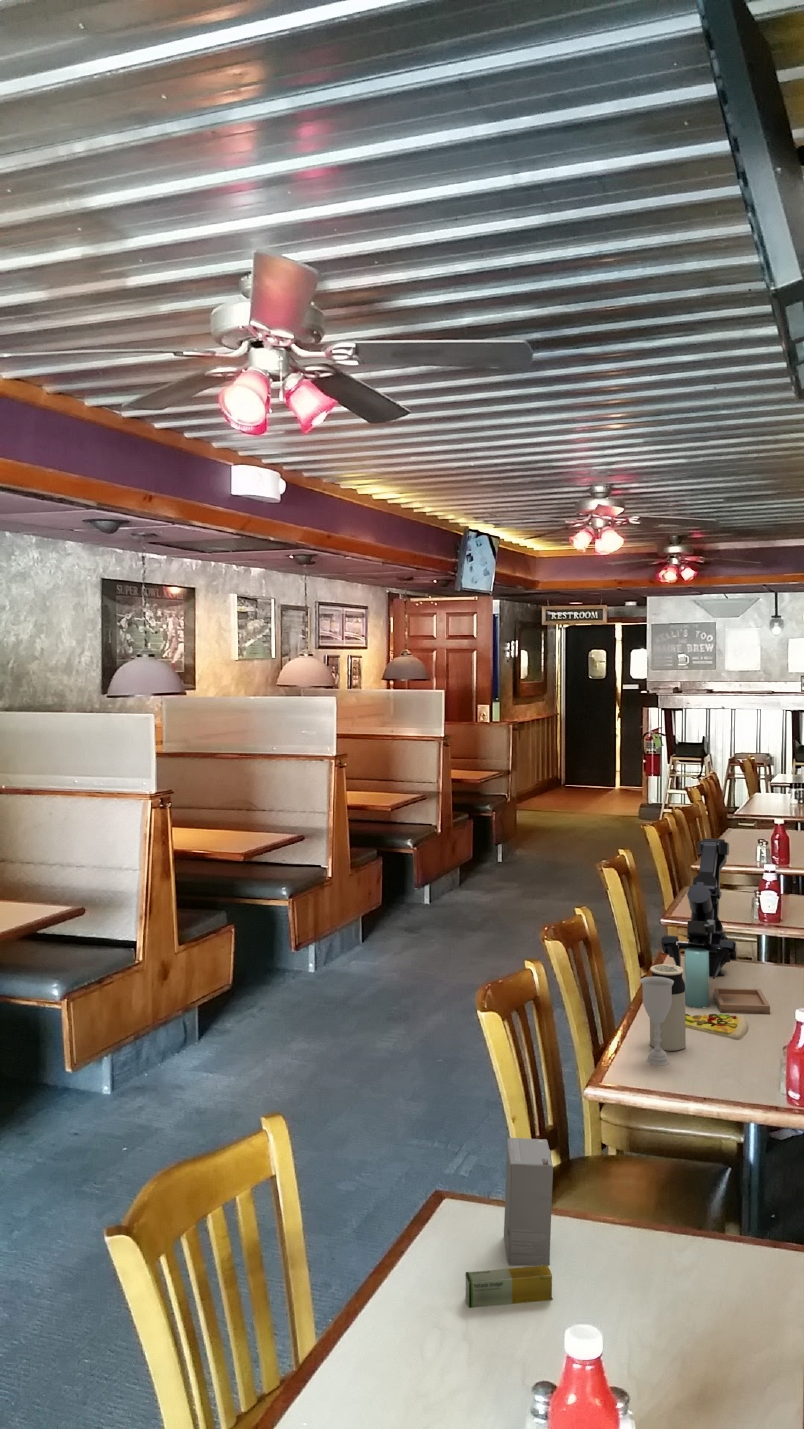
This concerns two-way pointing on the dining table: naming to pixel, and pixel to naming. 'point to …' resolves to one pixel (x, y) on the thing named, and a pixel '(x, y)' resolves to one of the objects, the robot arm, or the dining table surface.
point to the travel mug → (671, 1010)
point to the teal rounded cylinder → (696, 977)
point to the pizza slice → (718, 1025)
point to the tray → (741, 1001)
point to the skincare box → (528, 1202)
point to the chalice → (657, 1011)
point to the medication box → (508, 1286)
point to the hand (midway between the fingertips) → (696, 976)
